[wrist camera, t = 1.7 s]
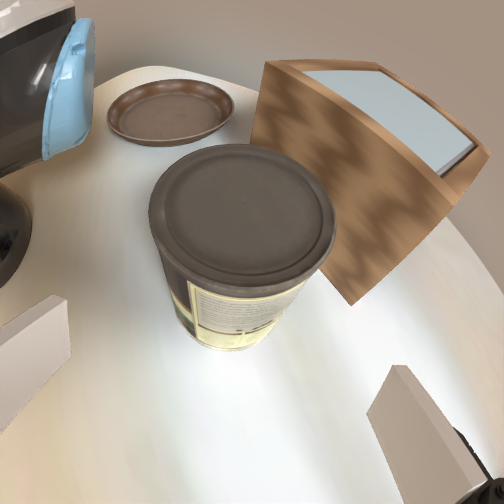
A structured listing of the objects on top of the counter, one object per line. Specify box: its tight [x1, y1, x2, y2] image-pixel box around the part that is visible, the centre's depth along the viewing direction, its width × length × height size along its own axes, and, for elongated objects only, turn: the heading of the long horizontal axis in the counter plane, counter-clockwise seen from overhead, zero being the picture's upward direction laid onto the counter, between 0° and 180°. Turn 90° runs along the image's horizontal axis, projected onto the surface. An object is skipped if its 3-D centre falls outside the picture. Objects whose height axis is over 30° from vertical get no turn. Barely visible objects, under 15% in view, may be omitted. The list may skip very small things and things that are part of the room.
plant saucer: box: [107, 79, 234, 147], centre depth 40 cm, size 21×21×3 cm
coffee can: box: [148, 144, 337, 351], centre depth 21 cm, size 10×10×14 cm
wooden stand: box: [250, 59, 491, 306], centre depth 29 cm, size 20×20×16 cm
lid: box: [302, 70, 474, 178], centre depth 22 cm, size 15×15×1 cm
